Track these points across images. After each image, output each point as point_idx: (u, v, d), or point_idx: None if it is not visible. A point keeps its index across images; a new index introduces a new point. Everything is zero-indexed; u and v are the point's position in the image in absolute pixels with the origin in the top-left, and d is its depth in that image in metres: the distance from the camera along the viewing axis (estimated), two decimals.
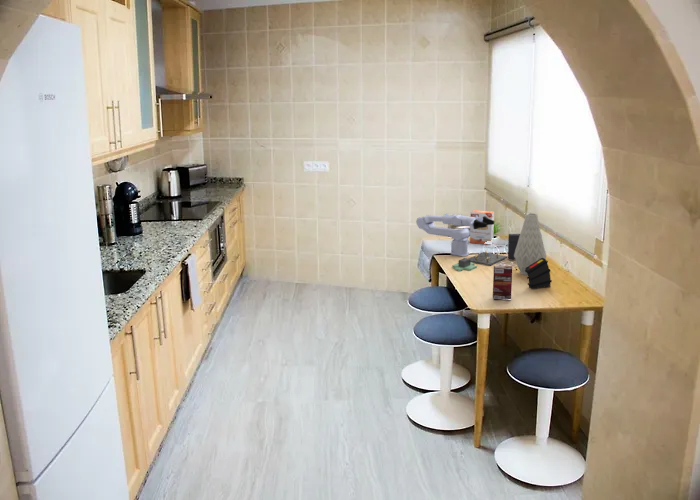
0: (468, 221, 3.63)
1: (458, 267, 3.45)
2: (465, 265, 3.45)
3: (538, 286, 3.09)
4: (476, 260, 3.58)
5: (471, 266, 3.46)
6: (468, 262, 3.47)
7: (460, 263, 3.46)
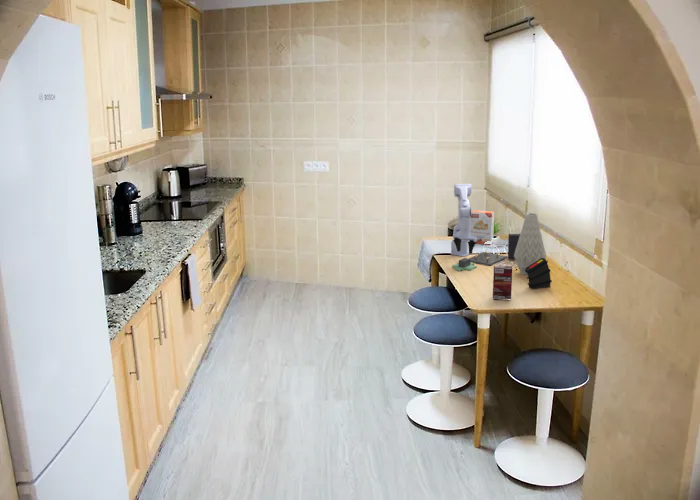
0: None
1: (458, 267, 3.45)
2: (465, 265, 3.45)
3: (538, 286, 3.09)
4: (476, 260, 3.58)
5: (471, 266, 3.46)
6: (468, 262, 3.47)
7: (460, 263, 3.46)
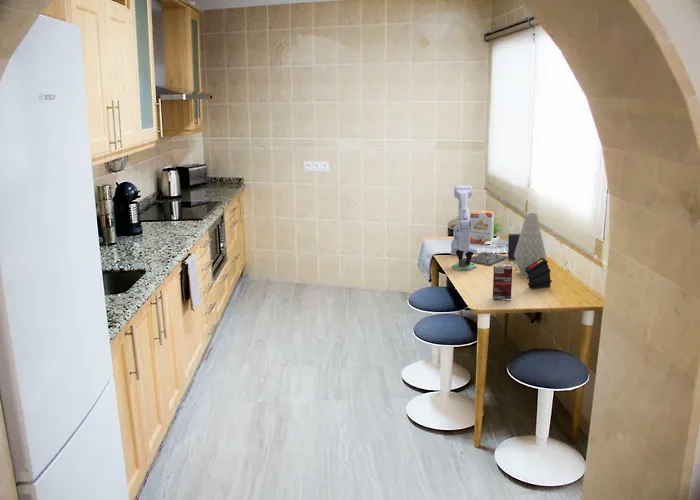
0: None
1: (458, 267, 3.45)
2: (465, 265, 3.45)
3: (538, 286, 3.09)
4: (476, 260, 3.58)
5: (471, 266, 3.46)
6: None
7: (460, 263, 3.46)
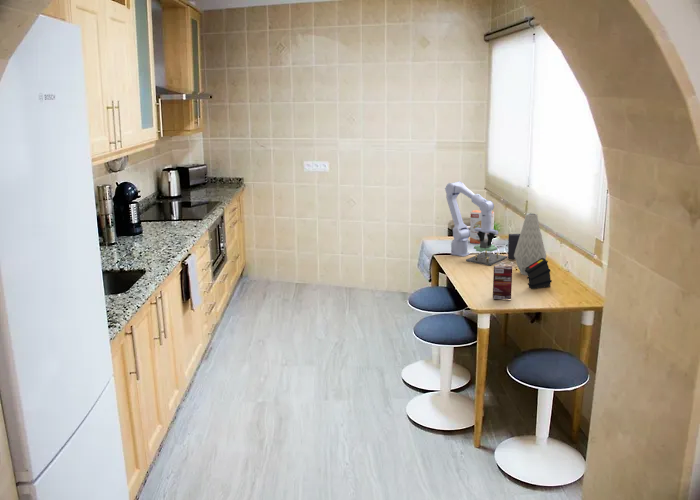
0: None
1: (479, 248, 3.56)
2: (486, 246, 3.56)
3: (538, 286, 3.09)
4: (476, 260, 3.58)
5: (492, 247, 3.57)
6: None
7: (481, 244, 3.57)
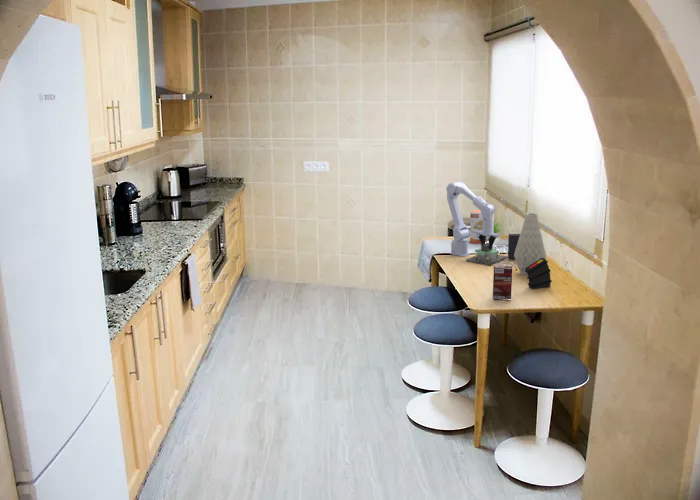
0: None
1: (481, 251, 3.57)
2: (487, 250, 3.57)
3: (538, 286, 3.09)
4: (476, 260, 3.58)
5: (493, 251, 3.58)
6: None
7: (483, 248, 3.58)
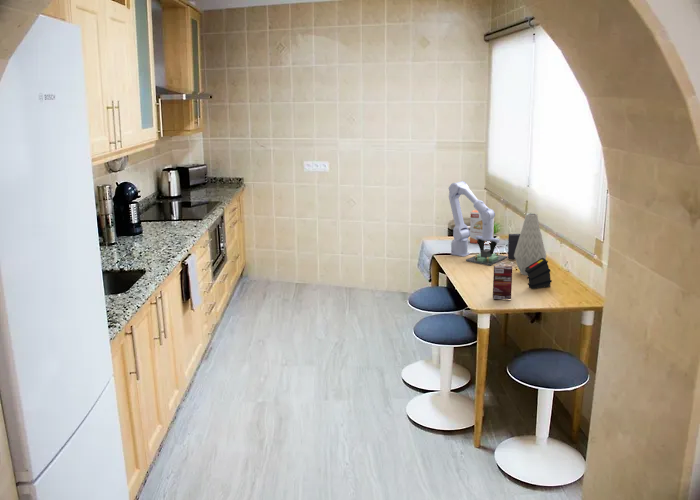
0: None
1: (480, 257, 3.58)
2: (487, 255, 3.58)
3: (538, 286, 3.09)
4: (476, 260, 3.58)
5: (493, 256, 3.59)
6: None
7: (482, 253, 3.59)
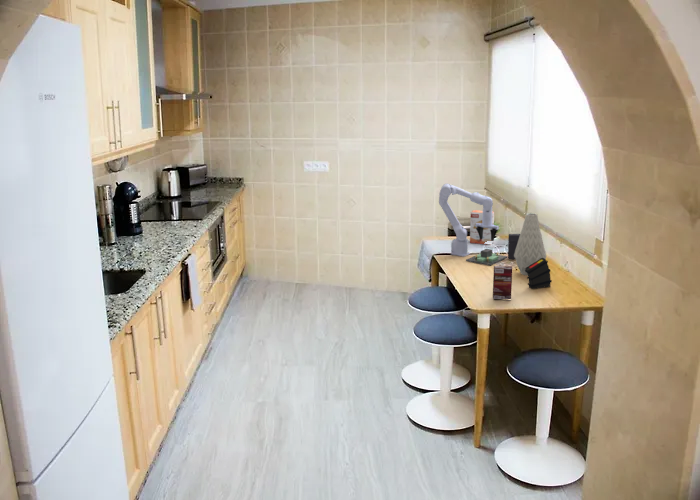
0: None
1: (480, 257, 3.58)
2: (487, 255, 3.58)
3: (538, 286, 3.09)
4: (476, 260, 3.58)
5: (493, 256, 3.59)
6: (490, 253, 3.60)
7: (482, 253, 3.59)
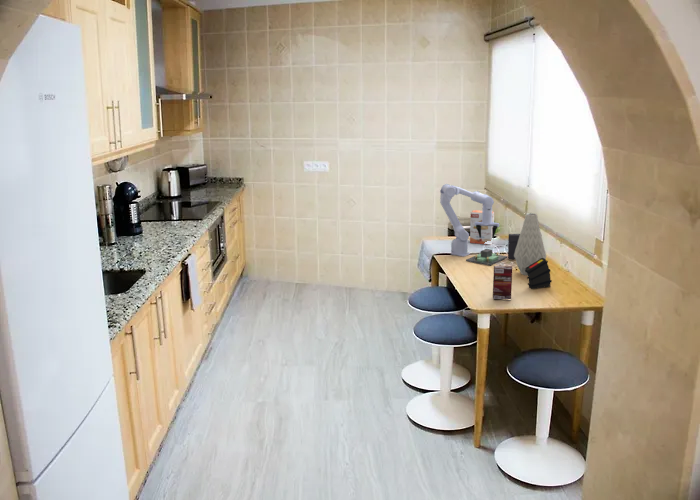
0: (482, 216, 3.71)
1: (480, 257, 3.58)
2: (487, 255, 3.58)
3: (538, 286, 3.09)
4: (476, 260, 3.58)
5: (493, 256, 3.59)
6: (490, 253, 3.60)
7: (482, 253, 3.59)
